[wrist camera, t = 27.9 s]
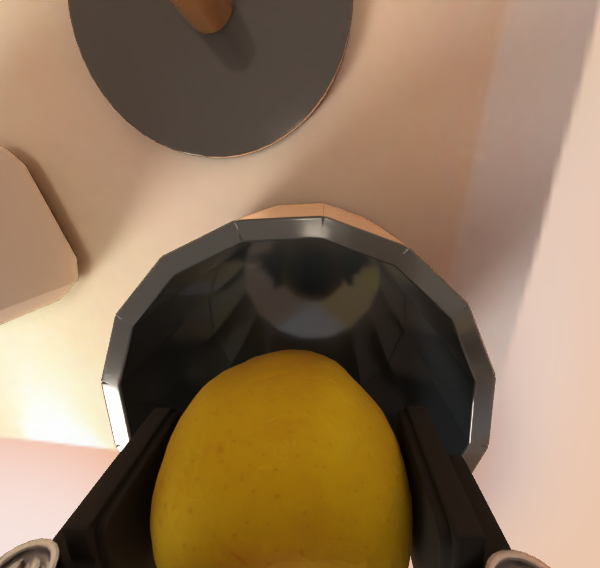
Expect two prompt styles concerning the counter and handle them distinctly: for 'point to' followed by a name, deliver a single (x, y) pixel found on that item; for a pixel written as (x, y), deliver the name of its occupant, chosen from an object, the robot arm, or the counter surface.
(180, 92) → the lid
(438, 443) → the robot arm
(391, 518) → the apple
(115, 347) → the pot
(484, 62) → the counter surface
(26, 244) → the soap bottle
